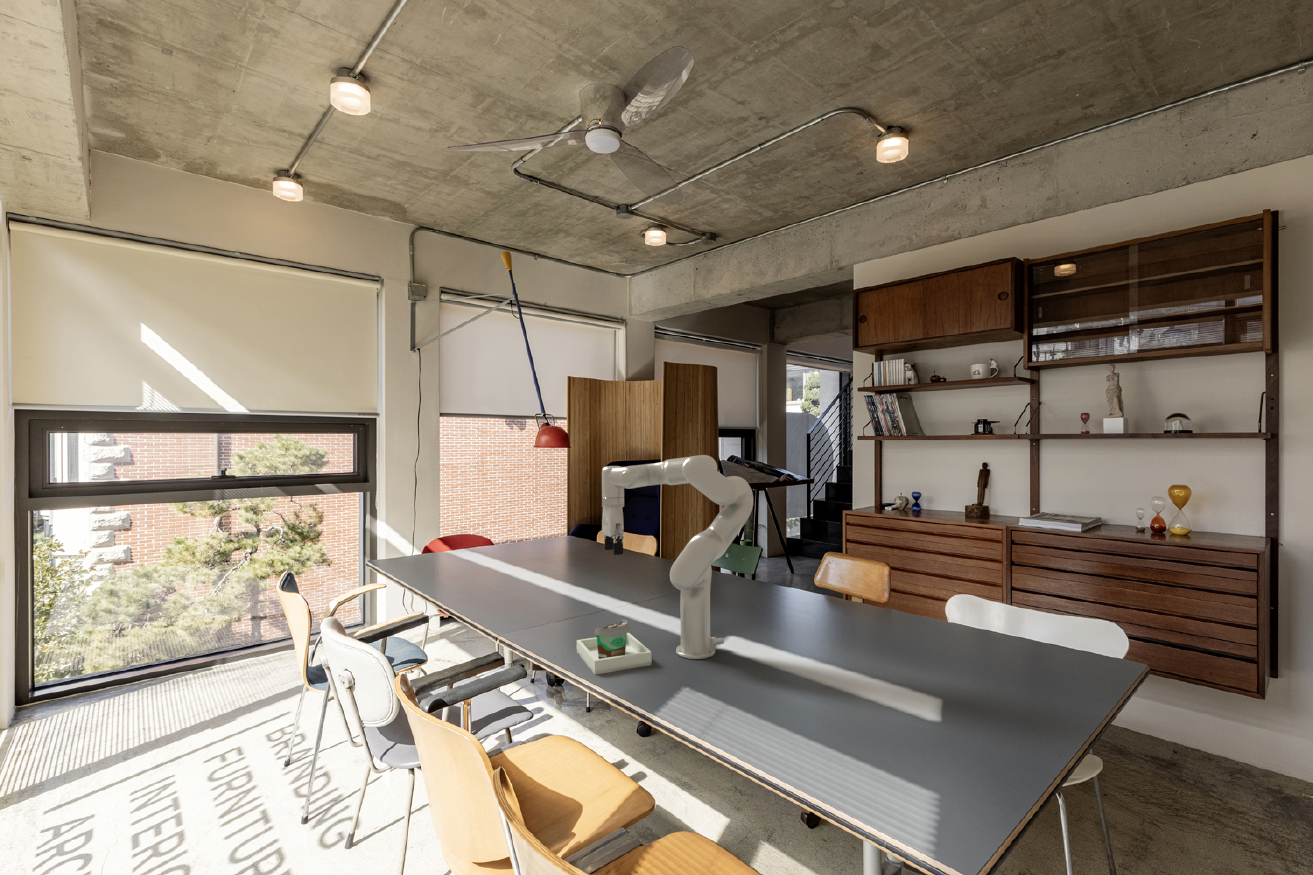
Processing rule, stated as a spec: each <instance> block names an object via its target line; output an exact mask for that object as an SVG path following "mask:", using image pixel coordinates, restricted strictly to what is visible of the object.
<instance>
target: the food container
mask: <svg viewBox="0 0 1313 875" xmlns="http://www.w3.org/2000/svg"><path fill="white" fill-rule="evenodd" d="M621 620H622V621H621V622H618V623H617V622H616V623H610V624H607V626H604V627H602V628H601V627H597V626H596V627H595V629H594V635H595V637H597V647H598V658H599V659H603V658H609V657H615V656H622V655H625V649H626V636H627V633H628V631H629V630H630V627H629V623H628V621H627V620H626V619H623V618H622V619H621Z"/></svg>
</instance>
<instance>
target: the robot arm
mask: <svg viewBox="0 0 1313 875" xmlns="http://www.w3.org/2000/svg"><path fill="white" fill-rule="evenodd" d="M684 484H690V485H691V486H693V487H694V488H695V489H696V490H697V491H699V492H700V493H701V494H703V495H704V496H705V497H707V498H708V499H709V500H710V501H711V502H713V503H715V504H716V505H719V506H721V507H723V508H722V509H721V510H720V511H719V512H718V514H717V515H716V516H715V518H714V520H712V522H711V524H710V525H709V526H708V527H707V528H706V529H705V530H703V531H701V532H699V533H697V534H695V535H693V537H692V538H691V539H690V540H689V541H688V542H687V544H686V545H685V546H684V548H683V549H682V551H681V552H680V553H679V555H678V556H677V558H676V559H675V561H674V562H673V563H672V565H671V568H670V570H669V579H670V582H671V584H672V586H673V587H674V588H676V589H677V590H680V597H679V598H680V603H679V604H680V606H679V607H680V609H679V610H680V617H679V619H680V644H679V645H678V646H676V649H675V653H676V655H678V656H680V657H682V658H685V659H690V660H701V659H708V658H711V657H713V656H714V655H715V654H716V648H715V646H716V645H724V643H725V640H724V638H723V637H719V638H717V636H711V582H712V576H713V575H712V574H713V573H712V572H713V570H712V564H713V563H714V562H715V561H716V560H718V559H720V558H721V557H722V556H724V554H725V553H726V551H727V549H728V548H729V547H730V546H731V544H732V543H733V541H734V540H735V539H736V537H737V536H738V534H739V532H740V531H741V529H742V528H743V527H744V526H745V524H746V523H747V521H748V520H749V518H750V516H751V513H752V510H753V506H754V495H753V494H754V493H753V491H752V488H751V486H750V485H749V482H747V480H745V478H743V477H741V476H738V475H737V476H736V475H731V476H730V475H729V476H724V475H723V474H722V472H721V473H720V472H719V471H718V464H717V461H716V460H715V459H714V457H712V456H710V455H706V454H702V455H701V454H700V455H693V456H686V457H677V458H671V459H665V460H664V461H661V462H655V463H645V464H638V465H637V464H636V465H628V466H619V465H609V466H608V465H607V466H606V465H605V466H604V467H603V468H602V470H601V499H602V500H601V507H602V518H601V532H602V534H604V535H603V537H604V540H603V541H604V551H610V550H611V551H612V550H613V555H614V556H620V555H624V529H625V528H624V524H625V523H624V512H623V508H624V507H625V489H628V490H630V489H636V488H642V487H647V486H657V485H658V486H659V485H668V486H676V485H684Z"/></svg>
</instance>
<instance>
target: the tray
mask: <svg viewBox="0 0 1313 875" xmlns="http://www.w3.org/2000/svg"><path fill="white" fill-rule="evenodd" d="M576 653H577V655H578V654H579V655H578V656H579V657H580V659H581V660H582V661H583V662H584V664H586V666H587V667H588V668H589V669H590V670H591V672H592V673H593V674H594V676H595V675H601V674H608V673H613V672H619V671H623V670H624V671H625V670H630V669H636V668H643V667H648V666H652V664H653V663H652V659H653V658H652V651H651V650H650V649H649V648H647V647H646V646H645V645H644V644H643V643H642V642H640V641H639V640H638V639H637V638H636V637H634V636H633V635H632V634H631V633H630V632H627V636H626V649H625V655H622V656H615V657H609V658H603V659H599V658H598V647H597V636H595V637H590V638H583V639H576Z"/></svg>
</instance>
